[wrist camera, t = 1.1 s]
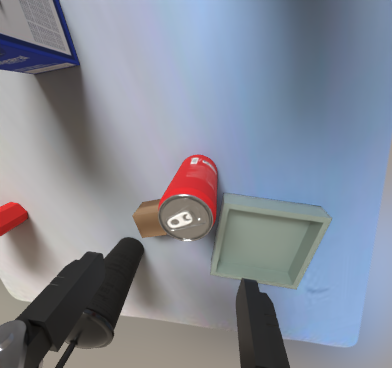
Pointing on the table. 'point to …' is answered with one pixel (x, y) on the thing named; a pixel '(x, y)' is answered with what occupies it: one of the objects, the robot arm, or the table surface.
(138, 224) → the walnut block
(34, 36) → the milk carton
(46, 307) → the robot arm
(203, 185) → the beverage can
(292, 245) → the tray
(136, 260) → the drinking cup
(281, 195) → the table surface
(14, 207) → the french fries
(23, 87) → the table surface
